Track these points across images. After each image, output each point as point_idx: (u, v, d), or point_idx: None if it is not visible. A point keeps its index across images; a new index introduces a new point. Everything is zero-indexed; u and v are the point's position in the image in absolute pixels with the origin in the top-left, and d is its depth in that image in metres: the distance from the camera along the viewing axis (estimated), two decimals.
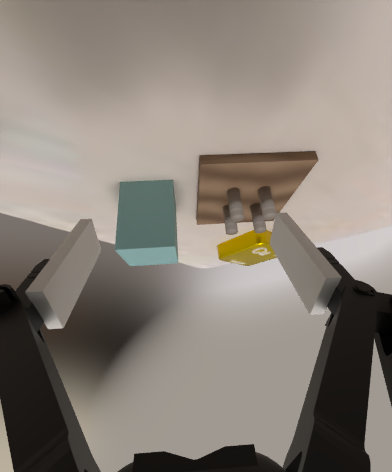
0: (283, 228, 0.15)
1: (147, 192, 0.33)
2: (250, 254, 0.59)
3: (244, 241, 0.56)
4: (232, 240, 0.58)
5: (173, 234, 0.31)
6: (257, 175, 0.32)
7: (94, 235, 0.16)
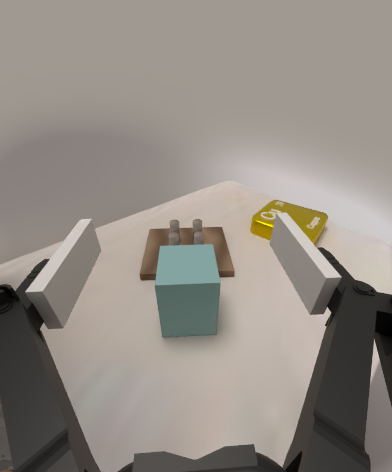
0: (283, 228, 0.15)
1: None
2: None
3: (266, 231, 0.53)
4: None
5: None
6: (158, 247, 0.49)
7: (94, 235, 0.16)
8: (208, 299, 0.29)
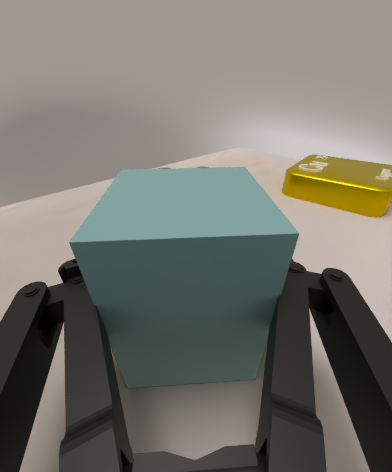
0: None
1: None
2: (335, 171, 0.36)
3: (310, 189, 0.35)
4: (332, 204, 0.34)
5: None
6: None
7: None
8: (249, 294, 0.10)
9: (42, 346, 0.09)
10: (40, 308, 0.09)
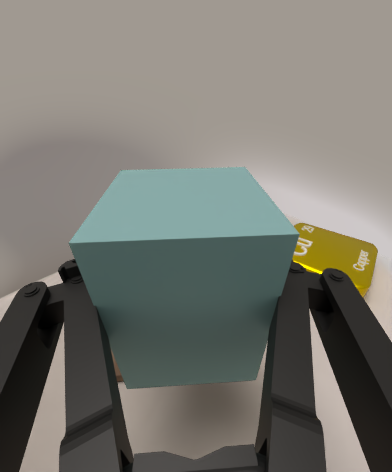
0: None
1: None
2: (318, 254, 0.39)
3: None
4: None
5: None
6: None
7: None
8: (249, 294, 0.10)
9: (42, 346, 0.09)
10: (40, 308, 0.09)
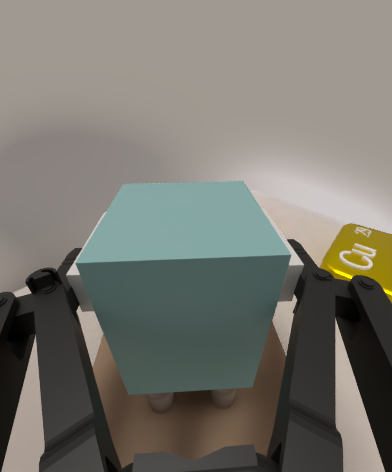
0: None
1: None
2: (389, 268, 0.28)
3: None
4: None
5: None
6: None
7: None
8: (245, 309, 0.10)
9: (14, 358, 0.09)
10: (9, 319, 0.09)
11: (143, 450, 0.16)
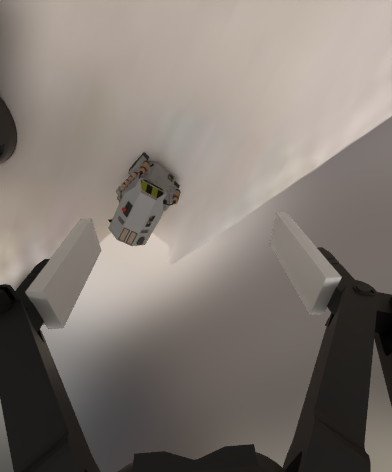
0: (283, 228, 0.15)
1: None
2: None
3: None
4: None
5: None
6: None
7: (94, 235, 0.16)
8: None
9: None
10: None
11: None
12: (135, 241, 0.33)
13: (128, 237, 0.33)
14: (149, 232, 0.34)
